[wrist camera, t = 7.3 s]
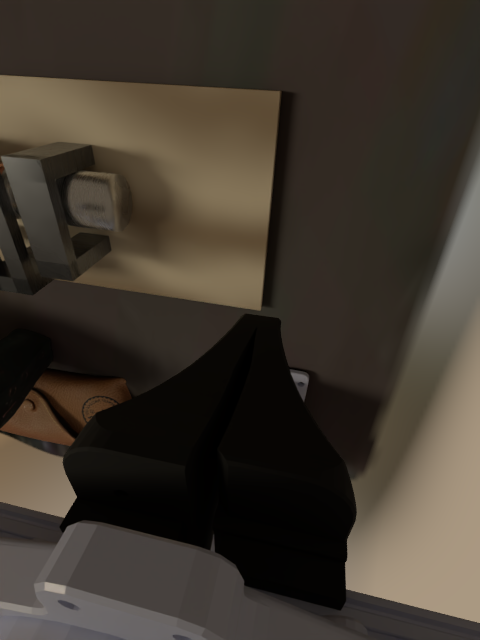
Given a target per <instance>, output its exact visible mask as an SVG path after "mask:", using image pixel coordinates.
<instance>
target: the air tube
mask: <svg viewBox="0 0 480 640" xmlns="http://www.w3.org/2000/svg"><path fill="white" fill-rule="evenodd" d="M0 173H1V175H2V178H3V181H4V184H5V187H6V190H7V193H8V196H9V199H10V202H11V205H12V207H13V210H14V213H15V216H16V219H21V216H20V213H19V210H18V207H17V204H16V201H15V198H14V195H13V192H12V189H11V186H10V183H9V180H8V177H7V174H6V171H5V168H4V165H3V162H0ZM56 183H57V186H58V190H59V194H60V198H61V202H62V206H63V210H64V213H65V217H66V221H67V225H68V226H76V227H84V228H92V229H99V230H107V231H115V232H121V231H123V230H124V229H125V228H126V227H127V225H128V223H129V221H130V218H131V213H132V194H131V190H130V186H129V184H128V182H127V180H126V179H125V177H124V176H122V175H121V174H115V173H105V172H96V171H86V170H79V171H77V172H74V173H72V174H69V175H66V176H64V177H61V178H59V179H56Z"/></svg>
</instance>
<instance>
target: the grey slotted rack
mask: <svg viewBox="0 0 480 640" xmlns="http://www.w3.org/2000/svg"><path fill="white" fill-rule="evenodd" d="M1 159H2V162H3V165H4V168H5V171H6V174H7V177H8V180H9V183H10V186H11V189H12V192H13V195H14V198H15V201H16V204H17V207H18V210H19V213H20V216H21V219H22V222H23V225H24V228H25V231H26V234H27V237H28V240H29V243H30V246H29V247H27V248H26V245H25V242H24V239H23V237H22V234H21V231H20V228H19V225H18V222H17V219H16V216H15V213H14V210H13V207H12V205H11V202H10V199H9V196H8V193H7V190H6V187H5V184H4V181H3V178H2V175H1V173H0V249H1V251H2V254H3V257H4V259H5V260H4V261H2V260H1V257H0V290H3V291H9V292H16V293H22V294H28V295H34V294H35V293H36V292H38V291H39V290H40V289H42V288H43V287H45V286H46V285H47V284H49V283H50V282H51V281H53V280H54V279H60V280H67V281H74V280H76V279H77V278H78V277H79V276H81V275H82V274H83V273H84V272H86V271H87V270H88V269H89V268H91V267H92V266H93V265H94V264H96V263H97V262H98V261H99V260H101V259H102V258H103V257H104V256H105V255H107V254H108V253H109V252H110V251H112V250H111V244H110V239H109V236H106V235H99V234H91V233H83V232H79V233H78V234H76V235H75V236H73V237H70V233H69V229H68V225H67V221H66V217H65V213H64V210H63V206H62V202H61V198H60V194H59V190H58V186H57V183H56V179H59V178H61V177H64V176H66V175H69V174H72V173H74V172H77V171H79V170H82V169H85V168H87V167H90V166H92V165H95V160H94V155H93V150H92V145H89V144H78V143H67V142H55V143H51V144H47V145H43V146H39V147H35V148H31V149H27V150H23V151H19V152H15V153H11V154H7V155H3V156H1Z"/></svg>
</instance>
